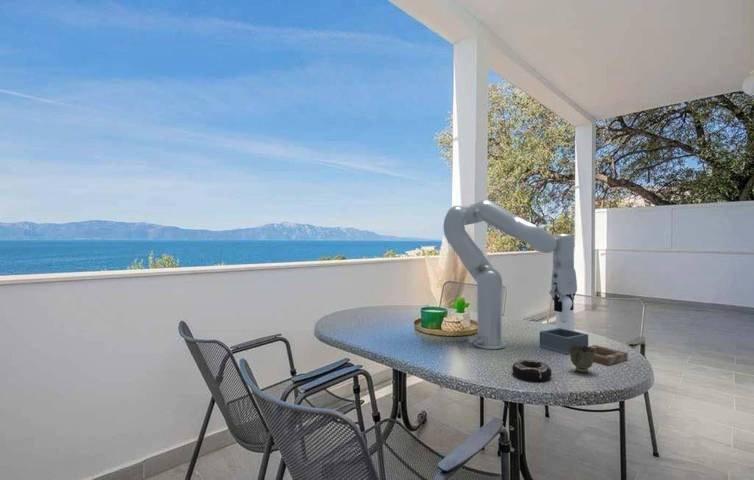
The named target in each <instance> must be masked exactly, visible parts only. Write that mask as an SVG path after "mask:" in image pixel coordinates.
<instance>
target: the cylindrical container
mask: <svg viewBox="0 0 754 480" xmlns="http://www.w3.org/2000/svg"><path fill="white" fill-rule="evenodd" d="M568 295H569V294H568ZM557 296H559V295H557ZM574 304H575V299H574V300H573V310H569V313H568V318H567V322H565V323H563V322H561V321H560V315H559V312H558V311H555V329H556V328H562V329H567V330H571V331H575V306H574Z"/></svg>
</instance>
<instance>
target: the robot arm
mask: <svg viewBox="0 0 754 480" xmlns="http://www.w3.org/2000/svg"><path fill="white" fill-rule="evenodd" d="M481 222H484V223H486V224H487V225H490V226H491V227H493V228H495V229H496V230H498V231H499V232H502V233H503V234H505V235H507V236H509V237H512V238H516V239H517V240H521V241H523V242H524V243H526V244H527V245H530V246H531V247H532V249H533V250H535V252H537V253H542V254H543V253H544V254H549V253H552V273H551V283H550V284H551V285H550V286H551V289H550V291H549V295H550V296H551V299H552V301H553V311H555V312H556V311H558V312H562V302H561V299H562V295H566V296H568V297H570V299H571V300H572V307H571V308H570V310H573V300H574V301H575V296H576V293H577V292H578V284H577V283H578V281H577V274H576V270H575V260H574V259H575V254H574V253H575V249H574V248H575V245H574V244H575V243H574V242H575V241H574V239H575V238H574V235H573V234H572V233H571V234H570V233H556V234H552V233H550V232H548V231H547V230H545V229H543V228H541V227H539V226H537V225H535V224H534V223H532V222H530V221H528V220H526V219H524V218H522V217H520V216H518V215H516V214H515V213H513V212H511V211H510V210H507V209H505V208H504V207H502V206H501V205H500V204H499V205H498V204H497V203H495V202H493V201H491V200H489V199H483V200H480V201H478V202H476V203H475V202H474V203H471V204H470V203H469V204H467V205H462V206H461V205H455V206H454V205H453V206H451V208H449V209H448V211H447V213H446V215H445V217H444V220H443V226H442V227H443V235H444V236H445V239H446V241H447V242H448V244H449V245H450V247H451V248H452V249H453V251H454V253H455V254H456V255H457V257H458V259H460V261H461V263H462V265H463V266H464V268H465V269H466V271H468V273H469V274H470V275H471V277H472V278H473V280H475V282H476V285H477V286H476V287H477V290H476V293H477V295H476V299H477V302H476V308H477V309H476V310H477V313H476V314H477V317H476V318H477V322H476V323H477V325H476V326H477V327H476V328H477V333H475V336H474V337H469V338H468V342H469V343H470V344H472V343H473V345H474V346H475V347H477V348H479V349H480V348H481V349H486V350H501V349H504V348H505V347H507V346H506V344H507V343H506V342H505V341H504V340H502V338H503V337H502V335H503V333H502V331H503V330H502V327H503V325H502V322H503V321H502V320H503V319H502V293H503V279H502V274H501V273H500V272H499V270H497V269H496V268H494V267H493V265H492V264H491V263H490V261H489V260H488V259H487V257H486V256H485V253H484V251H482V250H481V248H480V247H479V246H478V244H476V242H475V241H474V240H473V239H472V237H471V236H470V234H468V231H467V230H466V226H467V225H468V226H469V225H473V224H477V223H481ZM568 294H569V295H568ZM557 295H559V298H558V296H557Z"/></svg>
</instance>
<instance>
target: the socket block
mask: <svg viewBox="0 0 754 480" xmlns="http://www.w3.org/2000/svg"><path fill="white" fill-rule="evenodd" d="M588 347H591V350H593V349H595V353H594V360H593V363H597V364H600V365H603V366H608V367H609V366H612V365H616V364H620V363H622V362H625V361H628V359H629V358H628V352H625V351H621V350H617V349H612V348H609V347H608V348H607V347H603V346H600V345H596V344H594V345H590V346H589V345H588Z"/></svg>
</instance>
